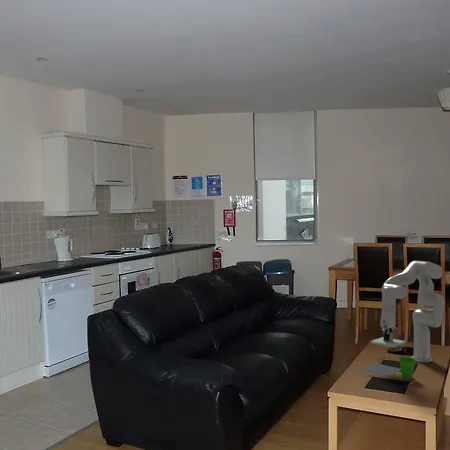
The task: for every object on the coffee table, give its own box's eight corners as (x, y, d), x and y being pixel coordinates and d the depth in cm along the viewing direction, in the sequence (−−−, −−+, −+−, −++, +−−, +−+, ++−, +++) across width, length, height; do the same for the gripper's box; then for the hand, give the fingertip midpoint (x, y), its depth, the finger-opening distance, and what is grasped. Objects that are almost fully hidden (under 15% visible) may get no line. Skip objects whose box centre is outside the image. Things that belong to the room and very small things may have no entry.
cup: (416, 381, 288) (417, 361, 288) (399, 380, 290) (399, 360, 290) (414, 376, 297) (414, 357, 297) (397, 375, 299) (397, 356, 298)
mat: (374, 364, 321) (374, 363, 320) (403, 370, 308) (403, 369, 308) (360, 370, 307) (360, 369, 307) (389, 377, 295) (389, 376, 295)
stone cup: (385, 345, 364) (385, 324, 364) (403, 347, 359) (403, 326, 359) (382, 351, 350) (382, 328, 350) (401, 353, 345) (401, 330, 345)
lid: (382, 339, 314) (383, 328, 313) (405, 343, 304) (405, 332, 304) (371, 343, 304) (371, 332, 303) (393, 347, 294) (394, 336, 294)
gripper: (389, 305, 312) (389, 336, 312) (375, 309, 300) (375, 340, 300) (401, 307, 306) (401, 338, 307) (387, 310, 294) (387, 343, 295)
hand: (388, 339), depth 304 cm, fingers closed on lid, 4 cm apart
